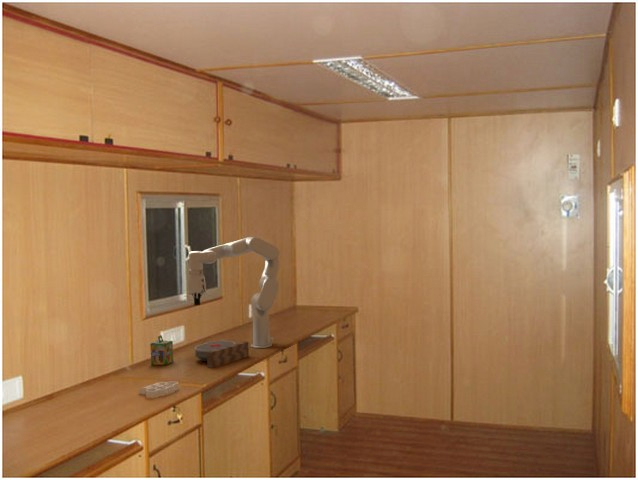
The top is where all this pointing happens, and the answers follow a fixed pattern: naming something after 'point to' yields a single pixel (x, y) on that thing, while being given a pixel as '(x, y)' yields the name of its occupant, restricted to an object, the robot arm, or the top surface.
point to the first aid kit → (210, 348)
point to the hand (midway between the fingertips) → (197, 304)
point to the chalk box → (161, 352)
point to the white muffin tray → (159, 389)
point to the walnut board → (227, 354)
